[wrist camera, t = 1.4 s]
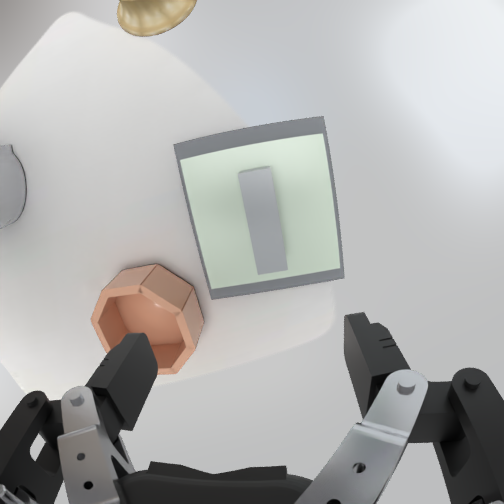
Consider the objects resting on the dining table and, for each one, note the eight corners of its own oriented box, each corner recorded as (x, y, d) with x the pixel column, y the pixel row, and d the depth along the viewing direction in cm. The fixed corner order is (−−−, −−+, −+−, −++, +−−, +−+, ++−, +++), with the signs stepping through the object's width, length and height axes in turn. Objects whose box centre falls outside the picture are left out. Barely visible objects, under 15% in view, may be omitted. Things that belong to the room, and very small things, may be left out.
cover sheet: (182, 159, 24) (169, 161, 21) (320, 133, 23) (330, 131, 20) (212, 285, 28) (206, 305, 25) (338, 264, 27) (348, 282, 24)
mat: (175, 144, 25) (173, 144, 24) (322, 116, 23) (323, 116, 23) (212, 296, 29) (211, 299, 29) (343, 275, 28) (344, 278, 28)
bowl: (102, 272, 29) (78, 293, 24) (186, 257, 28) (171, 279, 23) (133, 347, 32) (117, 374, 28) (211, 342, 31) (204, 372, 27)
